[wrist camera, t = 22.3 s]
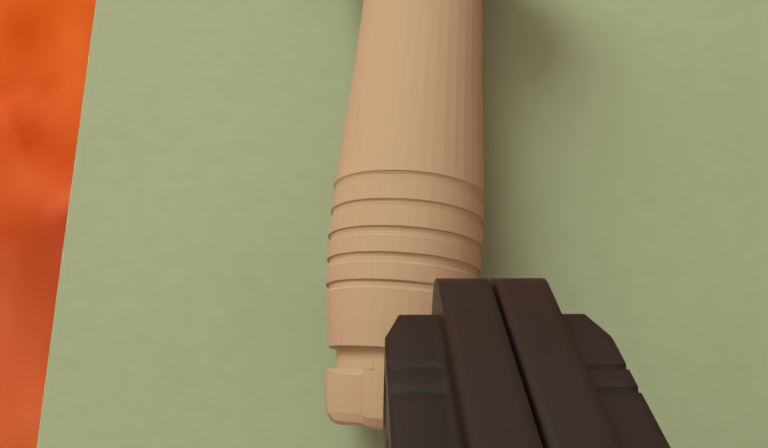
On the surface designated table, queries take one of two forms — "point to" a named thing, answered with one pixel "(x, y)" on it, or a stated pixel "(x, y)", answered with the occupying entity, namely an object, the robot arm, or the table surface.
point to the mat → (316, 187)
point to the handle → (402, 186)
